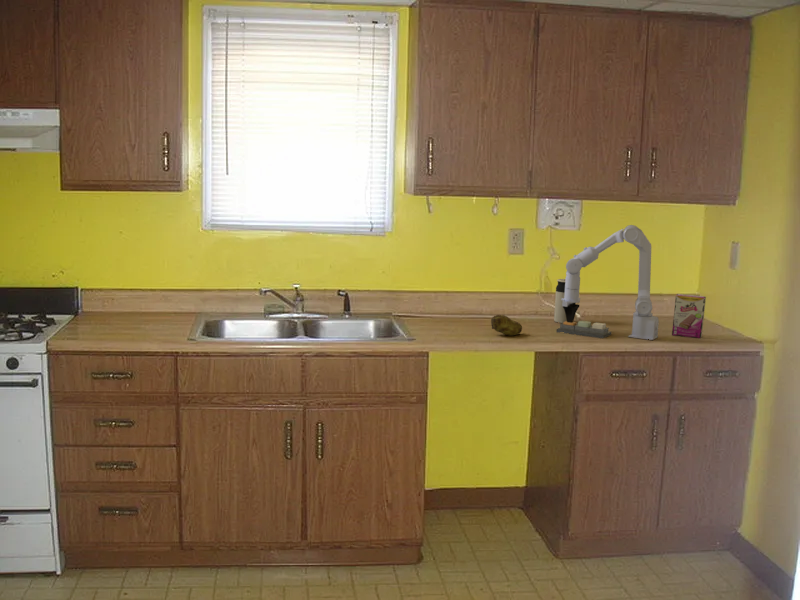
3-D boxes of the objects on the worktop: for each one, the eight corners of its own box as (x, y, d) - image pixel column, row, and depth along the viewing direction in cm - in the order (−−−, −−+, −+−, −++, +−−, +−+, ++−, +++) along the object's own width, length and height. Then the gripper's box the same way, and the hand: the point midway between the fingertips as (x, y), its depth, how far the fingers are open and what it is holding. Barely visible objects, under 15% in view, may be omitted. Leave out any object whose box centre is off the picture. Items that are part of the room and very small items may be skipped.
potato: (525, 337, 315) (526, 316, 314) (492, 337, 314) (493, 316, 312) (520, 333, 323) (521, 313, 322) (487, 332, 322) (488, 312, 321)
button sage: (590, 326, 327) (591, 321, 326) (587, 328, 323) (587, 323, 323) (581, 325, 329) (581, 320, 329) (577, 326, 326) (577, 321, 325)
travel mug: (562, 324, 344) (565, 281, 342) (550, 321, 351) (552, 279, 348) (576, 323, 348) (579, 280, 346) (564, 319, 355) (566, 278, 352)
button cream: (605, 328, 324) (605, 323, 323) (602, 330, 320) (602, 325, 320) (595, 327, 326) (596, 322, 325) (592, 328, 322) (592, 323, 322)
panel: (611, 334, 326) (611, 327, 325) (603, 338, 317) (603, 330, 317) (565, 328, 336) (566, 321, 335) (556, 332, 327) (556, 324, 327)
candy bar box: (671, 335, 328) (675, 294, 325) (673, 333, 332) (676, 293, 330) (701, 338, 323) (705, 297, 321) (702, 336, 328) (706, 295, 325)
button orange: (576, 326, 330) (576, 322, 330) (572, 328, 327) (573, 323, 326) (566, 325, 332) (567, 320, 332) (563, 327, 329) (563, 322, 328)
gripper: (569, 285, 335) (566, 318, 337) (555, 289, 323) (553, 323, 325) (585, 287, 331) (583, 320, 334) (573, 291, 319) (570, 325, 321)
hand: (569, 322), depth 329 cm, fingers closed, pressing on button orange
